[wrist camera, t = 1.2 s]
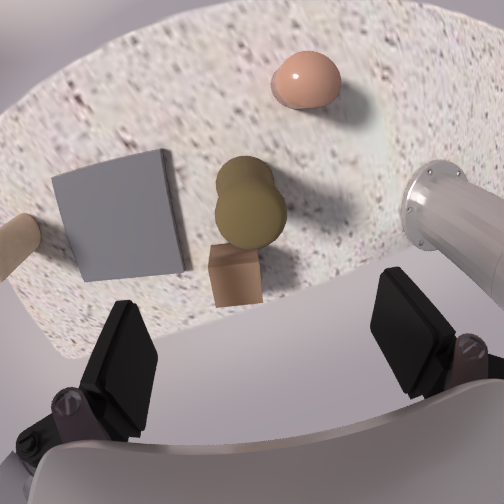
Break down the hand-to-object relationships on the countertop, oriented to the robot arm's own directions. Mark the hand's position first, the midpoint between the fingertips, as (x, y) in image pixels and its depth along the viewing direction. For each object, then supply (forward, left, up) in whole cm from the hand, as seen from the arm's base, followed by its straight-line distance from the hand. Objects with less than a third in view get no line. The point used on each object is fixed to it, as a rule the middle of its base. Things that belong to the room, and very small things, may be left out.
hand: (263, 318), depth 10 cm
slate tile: (+15, +2, -21) cm, 25 cm away
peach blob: (-6, -10, -21) cm, 24 cm away
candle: (+30, +1, -21) cm, 36 cm away
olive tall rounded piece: (0, 0, -21) cm, 21 cm away
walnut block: (+2, +9, -21) cm, 23 cm away
